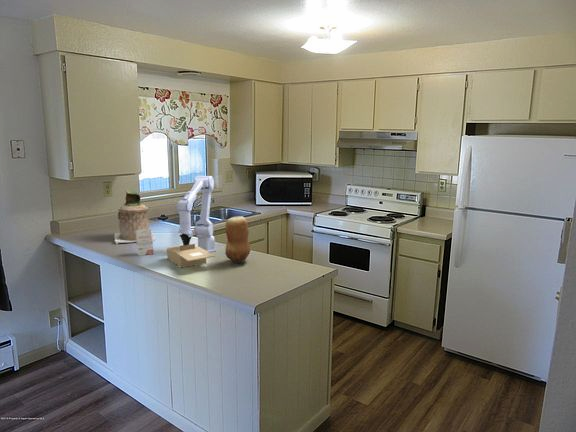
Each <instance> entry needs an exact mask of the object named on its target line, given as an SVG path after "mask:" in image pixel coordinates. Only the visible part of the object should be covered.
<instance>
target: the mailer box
mask: <svg viewBox="0 0 576 432" xmlns="http://www.w3.org/2000/svg"><path fill="white" fill-rule="evenodd" d="M180 246H181V245H177V246H172V247H167V248H166V255H167V257H166V258H168V259H167V260H169V261H170V260H171V261H170V262H172V263H173V262H174V263H173V264H175V265H176V264H177V265H178V267H179V266H180V267H184V268H187V267H186V266H189V267H193V266H192V265H195V266H199V264H200V265H204V264H203V263H205V264H207V258H205V259H200V260H194V261H189V262H188V261H187V260H185V259H183V258H182V257H180V256H179V255H177V254H176V253H174V252H173V251H174V250H180ZM177 265H176V266H177Z"/></svg>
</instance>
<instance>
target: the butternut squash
mask: <svg viewBox="0 0 576 432" xmlns="http://www.w3.org/2000/svg"><path fill="white" fill-rule="evenodd" d="M248 226H249V225H248V221H247V218H246V217H244V216H243V215H241V216H239V215H238V216H232V217H230V218H227V220H226V221H225V234H226V238H227V242H226V245H225V256H226V258H227V259H228V260H229V261H232V262H233V263H235V264H237V263H238V262H241V263H243V262H245V261H246V259H247V258H248V257H249V255H250V253H251V246H250V242H249V227H248Z"/></svg>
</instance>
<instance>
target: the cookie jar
mask: <svg viewBox="0 0 576 432" xmlns="http://www.w3.org/2000/svg"><path fill="white" fill-rule="evenodd" d="M124 199H125V203H124V204H123V205H122V206H120V207H118V213H117V219H118V220H119V221H118V224H119V226H118V229H119V232H115V233H114V242H115V244H116V245H118V244H123V243H124V244H125V243H137V239H136V235H137V234H136V230H148V229H150V224H149V217H148V210H149V207H148V206H146V205H145V204H142V203H140V202H141V195H140V194H139V193H138V192H137V191H135V190H125V198H124ZM141 233H146V232H145V231H143V232H141ZM151 233H152V239H153V242H154V241H155V240H156V237H155V234H154V233H153V231H152V230H151Z"/></svg>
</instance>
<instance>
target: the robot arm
mask: <svg viewBox="0 0 576 432" xmlns="http://www.w3.org/2000/svg"><path fill="white" fill-rule="evenodd" d="M214 185H215V180H214V177H213V176H212V175H196V176H195V177H194V179H193V186H192V187H191V189H190V190H188V191H187V192H186V193H185V195H184V196H183V198H182V199H181V200H178V201H177V203H176V210H177V214H178V215H179V228H178V231H177V233H178V234H179V237H180V239H181V242H182V244H183V245H189V244H191V240H192V238H193V237H194V235H195V236H196V237H197V247H200V248H202V249H204V250H206V251H208V252H210V253H213V252H216V250H217V249H216V239H215V236H214V235H213V234H214V225H213V222H212V221H211V220H210V213H211V212H210V210H211V201H212V200H211V199H212V192H213V191H214V187H215V186H214ZM199 191H200V192H201V193H202V195H201V203H200V205H201V206H200V216H199V219H198V220H197V221H196V222H195V225H194V228H193V231H192V223H191V222H192V221H191V217H192V216H191V211H192V210H193V205H194V202H195V201H196V199H197V194H198V193H199ZM193 232H194V233H193ZM183 245H182V246H183Z"/></svg>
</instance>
